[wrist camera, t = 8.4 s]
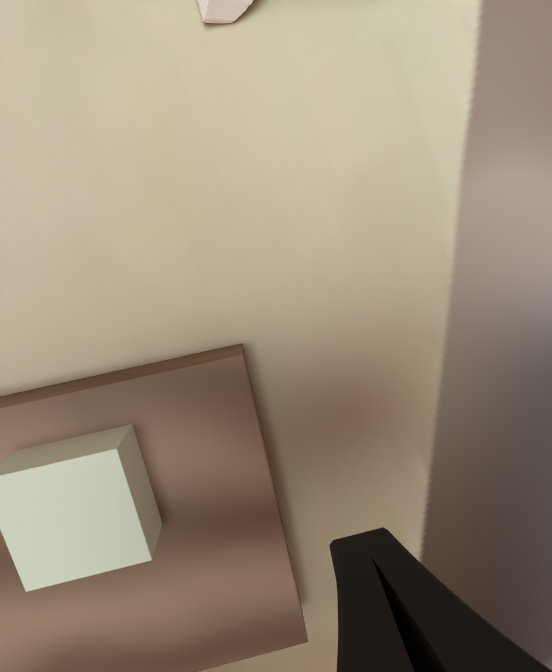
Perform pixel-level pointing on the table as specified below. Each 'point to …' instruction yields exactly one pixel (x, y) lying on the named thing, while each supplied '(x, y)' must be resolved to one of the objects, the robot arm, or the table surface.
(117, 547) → the tile green
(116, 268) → the table surface
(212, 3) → the white turtle figurine
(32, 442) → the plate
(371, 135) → the table surface
